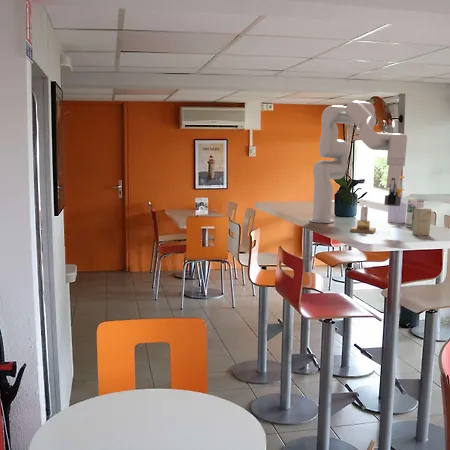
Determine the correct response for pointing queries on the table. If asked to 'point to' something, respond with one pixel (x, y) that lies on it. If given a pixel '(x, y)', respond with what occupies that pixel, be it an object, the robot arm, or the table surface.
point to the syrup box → (412, 210)
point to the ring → (398, 199)
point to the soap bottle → (397, 211)
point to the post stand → (363, 223)
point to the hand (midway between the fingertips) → (392, 203)
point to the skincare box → (421, 221)
